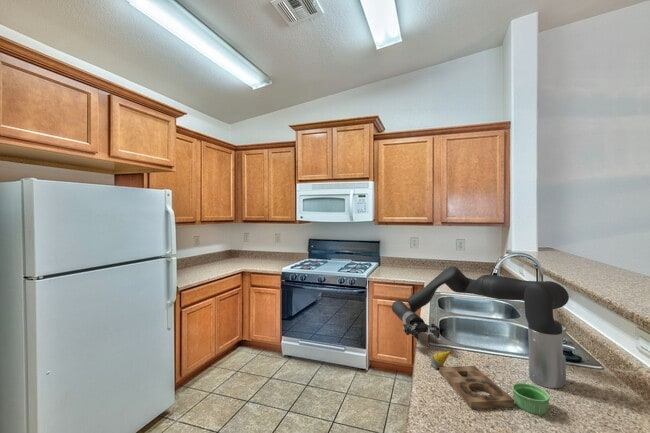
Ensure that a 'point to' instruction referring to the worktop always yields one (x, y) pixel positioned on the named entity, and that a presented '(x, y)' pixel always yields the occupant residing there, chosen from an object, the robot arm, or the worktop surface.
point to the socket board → (475, 387)
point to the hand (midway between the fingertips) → (427, 336)
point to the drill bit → (439, 359)
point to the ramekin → (531, 398)
